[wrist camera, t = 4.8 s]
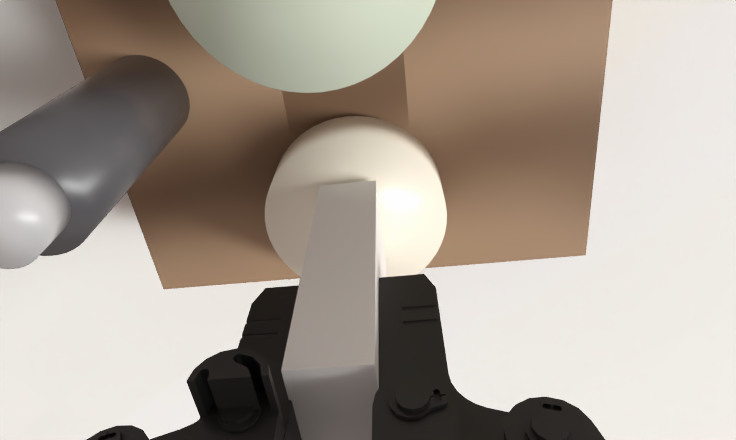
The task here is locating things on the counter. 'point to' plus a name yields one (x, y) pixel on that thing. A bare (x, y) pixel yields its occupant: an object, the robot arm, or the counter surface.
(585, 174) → the brown wooden holder block
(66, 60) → the counter surface
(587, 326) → the counter surface
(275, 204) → the knob
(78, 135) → the gray rod
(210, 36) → the knob mid
